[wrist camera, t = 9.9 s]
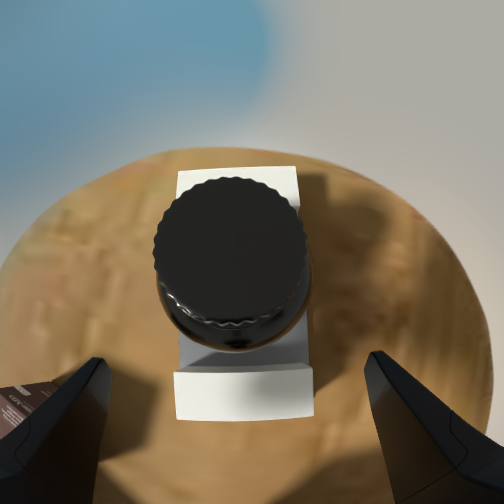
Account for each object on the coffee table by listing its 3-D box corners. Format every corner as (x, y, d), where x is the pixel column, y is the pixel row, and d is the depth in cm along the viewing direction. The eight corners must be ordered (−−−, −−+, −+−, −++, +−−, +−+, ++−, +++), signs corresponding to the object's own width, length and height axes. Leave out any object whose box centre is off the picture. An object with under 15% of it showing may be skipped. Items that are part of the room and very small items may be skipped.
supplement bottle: (244, 366, 19) (234, 412, 7) (172, 301, 20) (81, 255, 8) (309, 292, 20) (379, 234, 9) (236, 231, 21) (221, 120, 10)
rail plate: (308, 400, 18) (321, 414, 14) (183, 403, 18) (168, 418, 14) (294, 193, 23) (302, 166, 19) (183, 198, 23) (171, 172, 19)
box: (103, 412, 18) (51, 435, 11) (94, 465, 16) (48, 496, 9) (49, 379, 18) (-8, 385, 11) (42, 431, 17) (-8, 448, 10)
